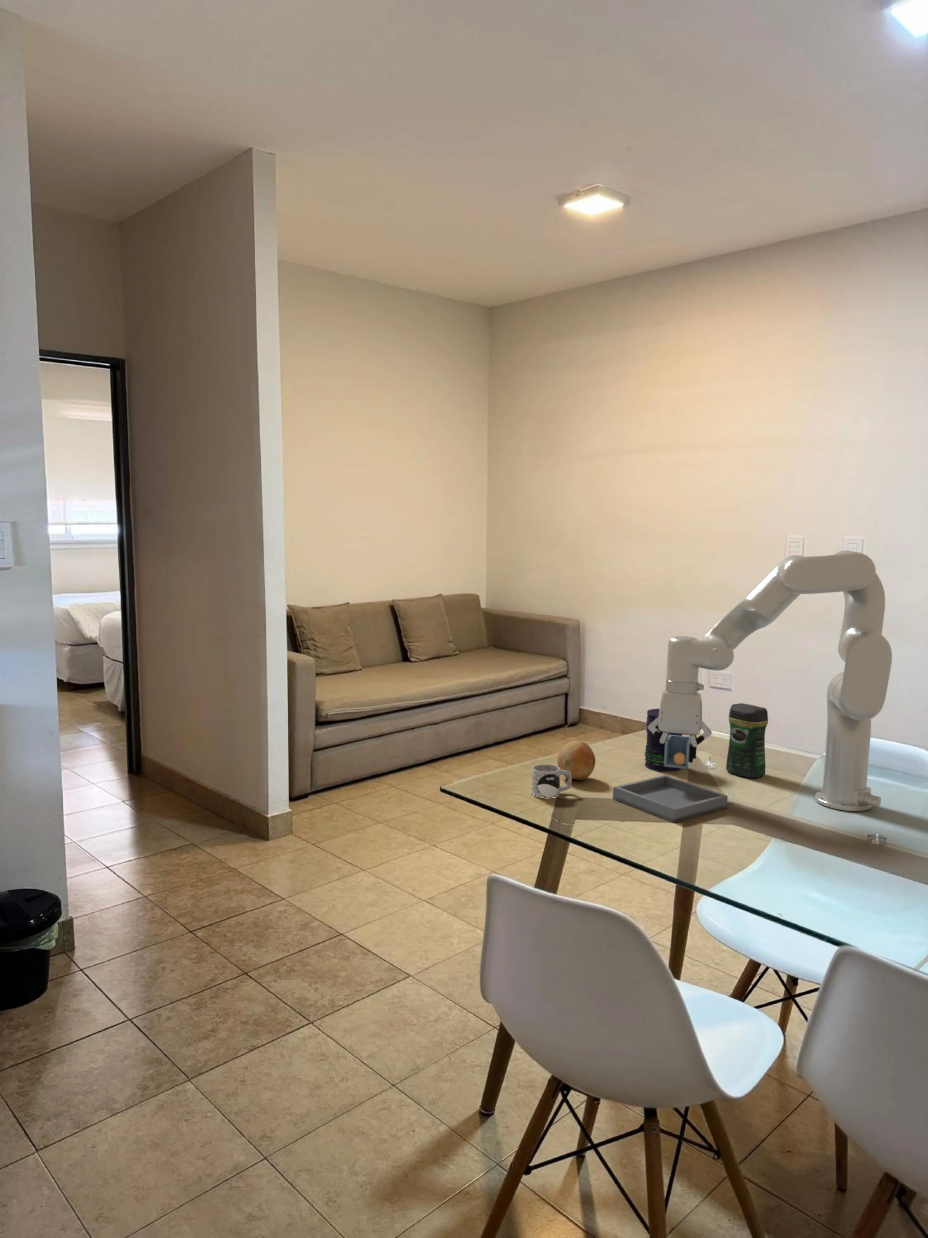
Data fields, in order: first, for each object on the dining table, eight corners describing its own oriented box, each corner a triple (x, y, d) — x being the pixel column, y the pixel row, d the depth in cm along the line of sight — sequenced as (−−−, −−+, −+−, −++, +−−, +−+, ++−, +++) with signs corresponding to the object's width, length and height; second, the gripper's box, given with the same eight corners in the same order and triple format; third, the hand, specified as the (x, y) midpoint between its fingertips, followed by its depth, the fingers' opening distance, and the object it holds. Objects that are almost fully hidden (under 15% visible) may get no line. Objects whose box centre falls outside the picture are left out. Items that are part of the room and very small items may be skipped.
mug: (537, 800, 206) (538, 773, 205) (527, 791, 212) (528, 765, 211) (576, 797, 208) (577, 770, 208) (565, 788, 215) (566, 762, 214)
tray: (726, 808, 202) (727, 796, 202) (674, 822, 192) (674, 809, 192) (664, 786, 218) (665, 775, 217) (612, 799, 207) (613, 787, 207)
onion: (552, 782, 219) (553, 744, 218) (561, 772, 229) (562, 734, 228) (590, 787, 216) (592, 748, 215) (597, 776, 226) (599, 738, 224)
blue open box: (667, 758, 218) (669, 734, 218) (691, 760, 216) (692, 737, 216) (663, 766, 211) (665, 742, 210) (687, 769, 209) (689, 744, 208)
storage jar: (682, 773, 229) (685, 718, 228) (644, 770, 231) (646, 715, 230) (680, 763, 239) (683, 709, 237) (644, 760, 241) (646, 707, 239)
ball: (690, 757, 209) (684, 768, 209) (684, 755, 212) (678, 765, 212) (681, 751, 209) (675, 762, 208) (674, 749, 211) (669, 760, 211)
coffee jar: (770, 775, 229) (774, 706, 226) (751, 780, 224) (755, 710, 222) (739, 767, 236) (742, 699, 234) (720, 771, 232) (724, 703, 229)
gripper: (719, 687, 212) (715, 760, 214) (648, 681, 218) (644, 752, 220) (717, 693, 205) (713, 768, 207) (643, 687, 211) (640, 759, 213)
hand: (677, 759), depth 214 cm, fingers closed on blue open box, 5 cm apart
